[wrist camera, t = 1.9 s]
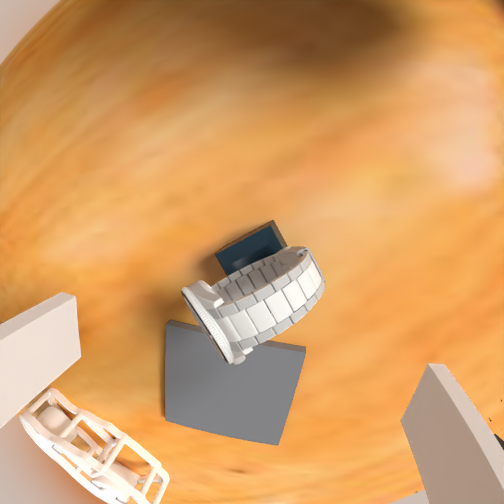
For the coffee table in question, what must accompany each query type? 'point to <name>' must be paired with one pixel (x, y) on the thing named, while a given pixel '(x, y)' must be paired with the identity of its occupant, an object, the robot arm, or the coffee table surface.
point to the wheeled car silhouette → (91, 451)
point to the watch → (255, 292)
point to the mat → (229, 386)
